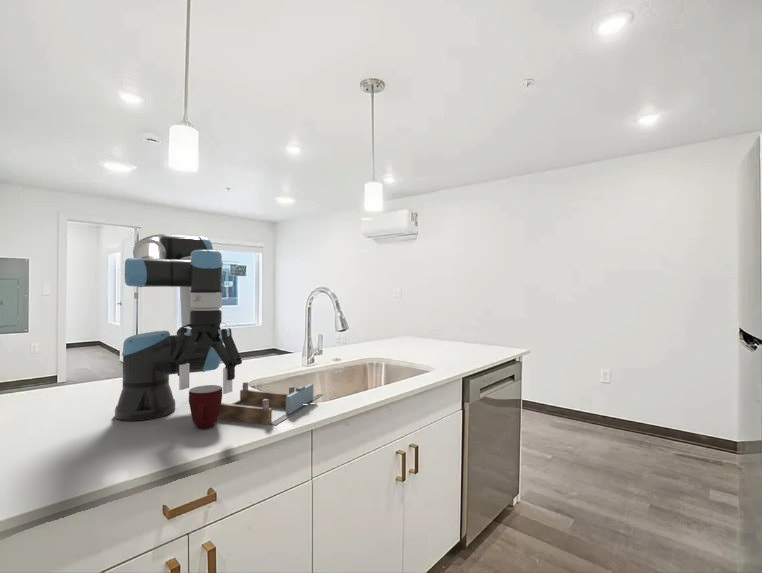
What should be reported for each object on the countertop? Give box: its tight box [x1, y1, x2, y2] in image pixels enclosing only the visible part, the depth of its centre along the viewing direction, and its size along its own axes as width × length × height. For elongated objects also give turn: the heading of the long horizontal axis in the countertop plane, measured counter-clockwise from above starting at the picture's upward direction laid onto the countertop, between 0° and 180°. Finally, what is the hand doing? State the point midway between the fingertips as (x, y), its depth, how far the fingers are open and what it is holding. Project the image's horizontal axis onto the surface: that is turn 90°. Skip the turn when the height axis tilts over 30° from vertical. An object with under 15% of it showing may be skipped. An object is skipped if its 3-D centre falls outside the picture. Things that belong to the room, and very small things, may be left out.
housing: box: [217, 381, 324, 427], centre depth 122 cm, size 22×31×6 cm
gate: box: [285, 383, 314, 414], centre depth 120 cm, size 2×15×6 cm, turn 164°
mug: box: [188, 384, 223, 430], centre depth 102 cm, size 11×8×10 cm
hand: (205, 390), depth 101 cm, fingers open, 13 cm apart
